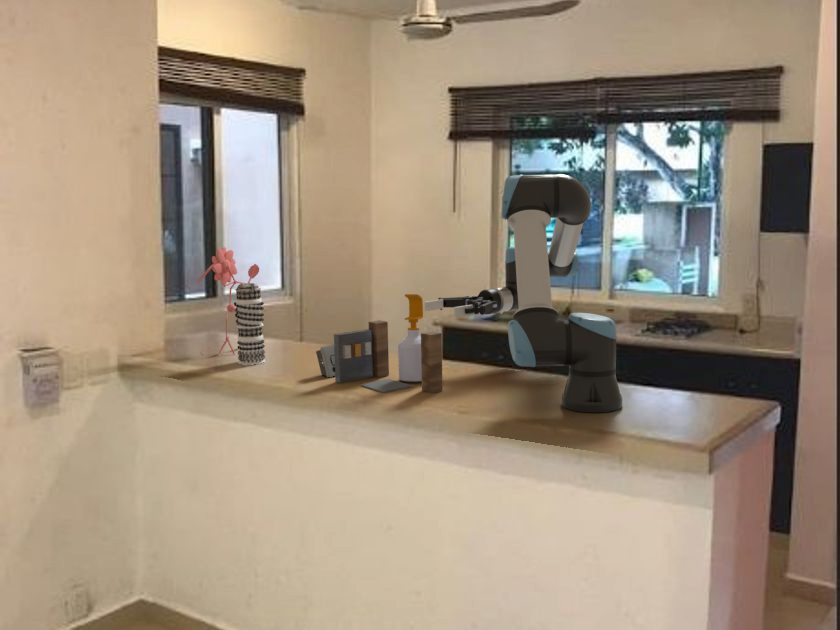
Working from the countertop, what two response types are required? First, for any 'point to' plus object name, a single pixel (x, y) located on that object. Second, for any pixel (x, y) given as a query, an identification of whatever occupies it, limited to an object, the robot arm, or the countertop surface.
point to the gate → (429, 355)
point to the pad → (386, 385)
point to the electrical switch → (326, 360)
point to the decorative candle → (249, 324)
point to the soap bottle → (411, 343)
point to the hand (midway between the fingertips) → (439, 309)
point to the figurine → (227, 277)
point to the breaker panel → (353, 355)
